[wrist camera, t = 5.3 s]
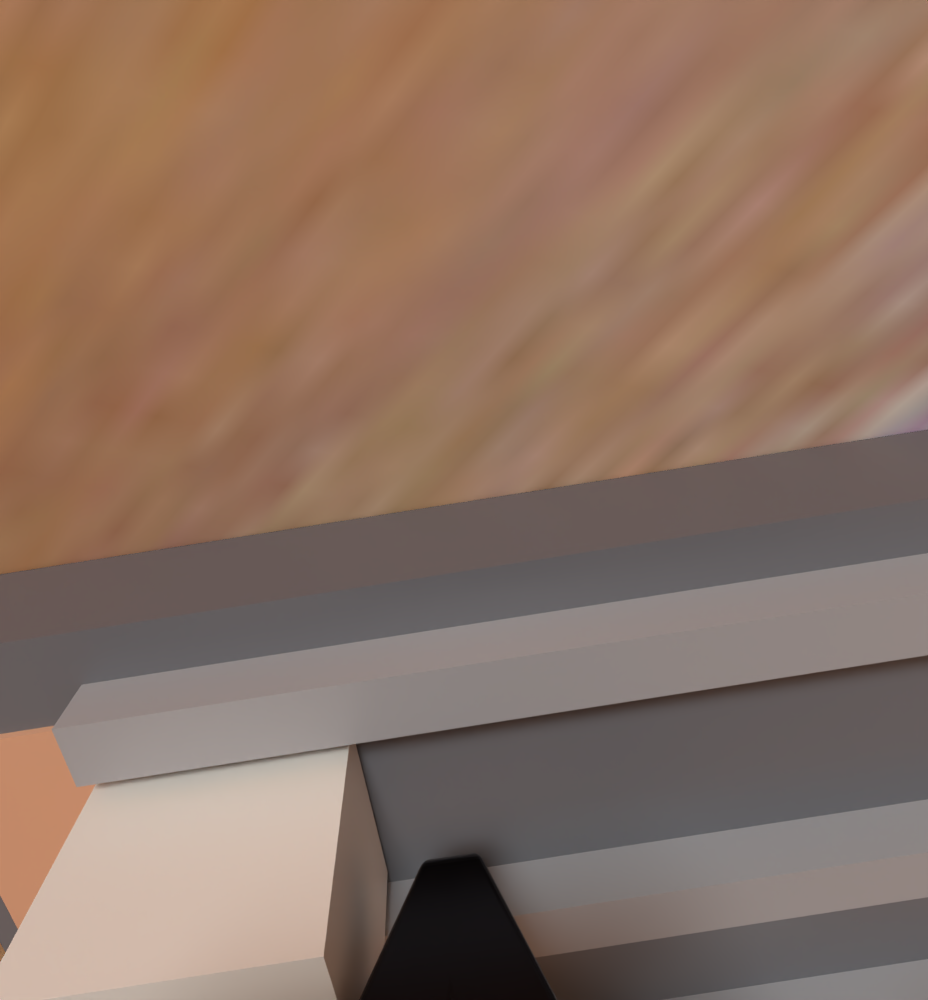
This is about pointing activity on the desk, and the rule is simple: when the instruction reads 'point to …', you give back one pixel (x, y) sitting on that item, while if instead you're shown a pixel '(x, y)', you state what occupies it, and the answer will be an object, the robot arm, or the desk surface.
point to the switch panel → (547, 709)
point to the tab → (212, 888)
